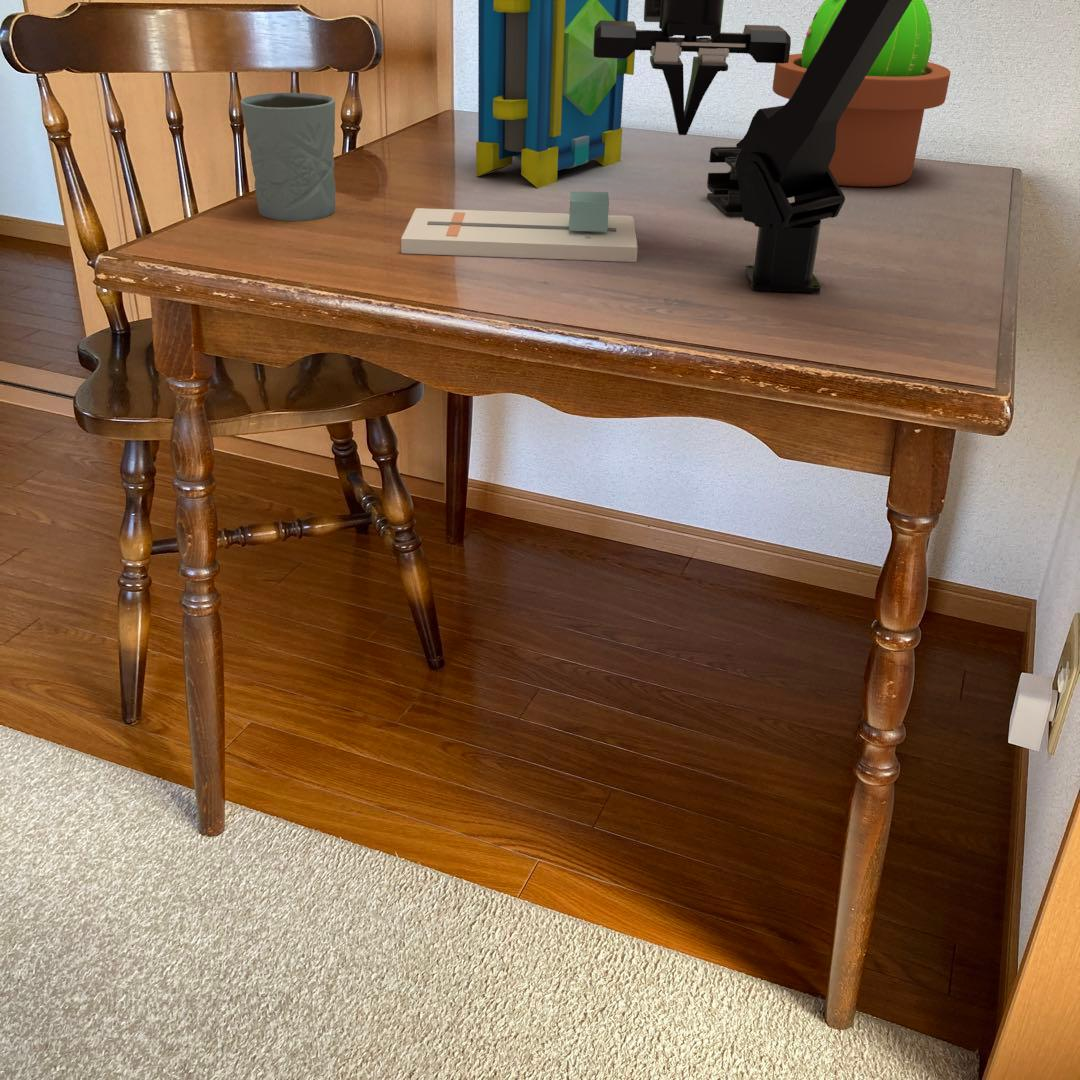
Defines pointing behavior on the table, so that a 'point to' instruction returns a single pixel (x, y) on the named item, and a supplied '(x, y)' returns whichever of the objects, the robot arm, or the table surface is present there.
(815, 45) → the potted cactus
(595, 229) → the fader tab
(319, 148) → the grey-green plant pot
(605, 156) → the decorative book
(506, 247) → the fader panel
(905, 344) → the table surface
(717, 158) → the end cap
